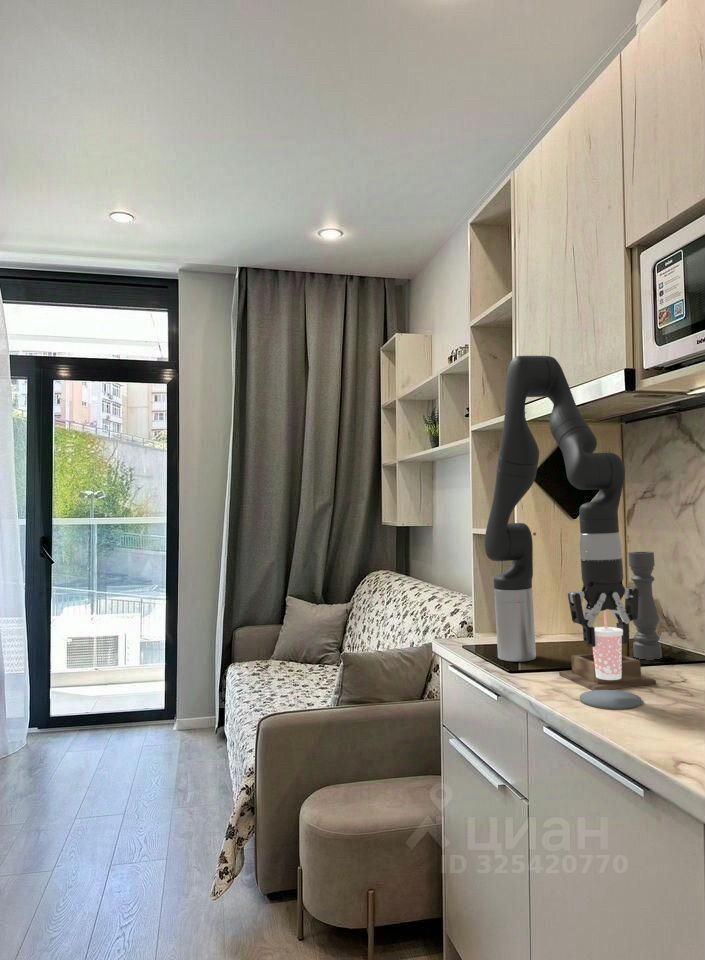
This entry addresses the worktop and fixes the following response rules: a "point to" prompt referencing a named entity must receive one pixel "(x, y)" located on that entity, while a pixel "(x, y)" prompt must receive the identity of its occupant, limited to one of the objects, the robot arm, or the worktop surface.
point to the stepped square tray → (587, 677)
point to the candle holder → (645, 607)
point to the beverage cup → (608, 652)
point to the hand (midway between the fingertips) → (606, 644)
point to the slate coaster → (610, 699)
